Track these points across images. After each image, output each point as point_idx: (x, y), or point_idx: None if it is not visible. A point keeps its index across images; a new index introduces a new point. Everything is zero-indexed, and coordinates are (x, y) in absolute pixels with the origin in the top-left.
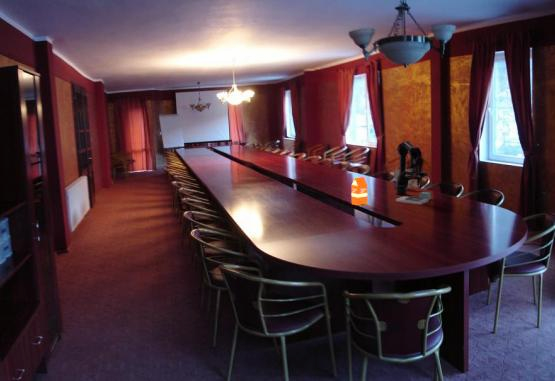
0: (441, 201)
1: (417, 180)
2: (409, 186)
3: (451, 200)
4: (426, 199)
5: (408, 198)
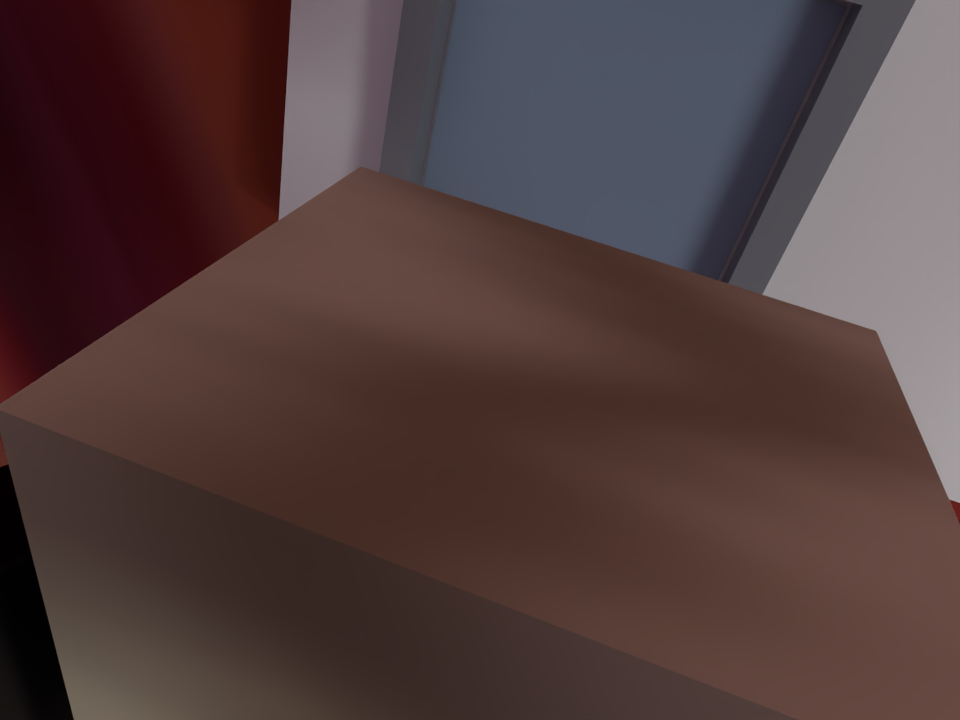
0: (124, 319)
1: (48, 619)
2: (814, 330)
3: None
4: (294, 203)
5: (795, 132)
